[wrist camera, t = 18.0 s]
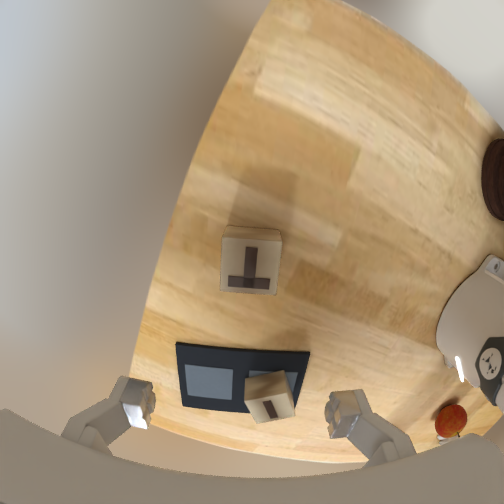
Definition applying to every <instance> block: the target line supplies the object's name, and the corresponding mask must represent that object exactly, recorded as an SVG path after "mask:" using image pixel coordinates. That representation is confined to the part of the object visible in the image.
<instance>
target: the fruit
mask: <svg viewBox="0 0 504 504" xmlns="http://www.w3.org/2000/svg"><path fill="white" fill-rule="evenodd" d="M466 422H467V414H466V411H465V410H464V408H463V407H462V406H460V405H449V406H447V407H445V408H443V409H442V410H441V412H440V413H439V415H438V416H437V418H436V421H435V429H436V431H437V433H438V434H439V435H440V436H441V437H443V438H451V437H454V436H456V435H457V434H458V437H460V436H459V432H461V431H462V430H463V428H464V427H465V425H466Z"/></svg>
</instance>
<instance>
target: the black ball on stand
mask: <svg viewBox="0 0 504 504" xmlns="http://www.w3.org/2000/svg"><path fill="white" fill-rule="evenodd" d="M482 190H483V196H484V199H485V203H486V205H487V208H488V210H489V211H490V213H491V214H492V215H493V216H494V217H495V218H497V219H499V220H502V221H504V139H496V140H494V141H493V142H492V143H491V144H490V145H489V147H488V148H487V151H486V153H485V156H484V160H483V165H482Z"/></svg>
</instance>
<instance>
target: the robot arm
mask: <svg viewBox="0 0 504 504" xmlns="http://www.w3.org/2000/svg"><path fill="white" fill-rule="evenodd" d="M436 344H437V347H438V349H439V350H440V351H441V352H442V353H443V354H444V361H445V365H446V366H447V367H449V368H452V367H455V368H456V369H457V370H458V371H459V376H460V379H461V381H462V382H463V381H464V379H463V377H464V378H465V379H466V380H467V381H468V382H469V383H470V384H471V385H472V386H473V387H475V388H477V387H480V389H481V390H482V392H483V393H484V394H485V397H486V398H487V400H488V401H490V402H491V403H492V405H494V406H498V407H499V409H500V410H501V412H502V413H503V414H504V261H503V260H501V259H500V258H498V257H496V256H494V255H492V254H490V255H489V256H488V257H487V258H486V259H485V260H484V262H483V263H482V265H481V266H480V268H479V269H478V270H477V271H476V272H475V273H474V274H472V275H471V276H470V277H469V278H467V279H466V280H465V281H464V282H463V283H462V284H461V285H460V286H459V287H458V289H457V290H456V291H455V292H454V294H453V295H452V297H451V298H450V300H449V301H448V303H447V305H446V306H445V308H444V310H443V313H442V315H441V317H440V320H439V323H438V326H437V331H436ZM152 389H153V385H152V382H148V381H144V380H139V379H135V378H130V377H125V376H120V377H119V379H118V380H117V382H116V384H115V386H114V388H113V390H112V392H111V394H110V396H109V398H108V399H104V400H102V401H101V402H98V403H97V404H95V405H93V406H91V407H90V408H88V409H86V410H84V411H82V412H81V413H79V414H77V415H75V416H73V417H71V418H70V419H69V421H68V423H67V425H66V427H65V429H64V431H63V433H62V434H61V436H58V435H56V434H54V433H52V432H50V431H48V430H46V429H44V428H42V427H40V426H38V425H36V424H34V423H32V422H30V421H28V420H26V419H24V418H23V417H21V416H19V415H17V414H16V413H14V412H12V411H10V410H8V409H3V410H0V504H504V455H503V453H502V452H501V450H500V449H499V447H498V446H497V445H496V444H495V443H494V442H492V441H490V440H488V439H486V438H484V437H482V436H479V435H477V434H474V433H469V434H467V435H464V436H462V437H460V438H458V439H455V440H453V441H451V442H448V443H446V444H443V445H441V446H438V447H435V448H433V449H430V450H427V451H424V452H421V453H418V454H417V453H416V451H415V449H414V446H413V444H412V442H411V440H410V437H409V436H408V435H407V434H405V433H404V432H402V431H401V430H399V429H398V428H397V427H395V426H394V425H392V424H391V423H389V422H388V421H386V420H385V419H383V418H382V417H381V416H379V415H378V414H376V413H373V412H372V410H371V408H370V405H369V403H368V400H367V398H366V396H365V393H364V391H363V390H362V389H358V390H346V391H335V392H331V393H330V396H329V399H330V401H329V402H327V404H326V406H325V419H326V421H327V422H328V423H329V426H328V432H329V436H330V439H332V438H343V437H347V438H348V439H349V440H350V441H351V442H352V443H353V444H354V445H355V446H356V447H357V448H358V449H359V450H360V451H361V452H362V453H363V454H364V455H365V456H366V457H367V458H368V459H369V460H368V462H367V463H366V464H365V465H364V467H363V468H361V469H355V470H350V471H344V472H337V473H331V474H322V475H314V476H302V477H287V478H240V477H223V476H212V475H202V474H194V473H187V472H181V471H175V470H169V469H163V468H158V467H154V466H149V465H145V464H141V463H137V462H133V461H129V460H125V459H122V458H119V457H115V456H113V455H112V453H111V451H110V450H109V448H108V447H107V446H108V445H109V444H110V443H111V442H113V441H114V440H115V439H117V438H118V437H119V436H120V435H122V434H123V433H124V432H125V431H126V430H127V429H129V428H130V427H131V426H134V427H139V428H145V429H148V427H149V424H150V421H151V416H150V414H151V413H152V412H154V408H155V403H156V399H155V393H154V392H153V391H152Z"/></svg>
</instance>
